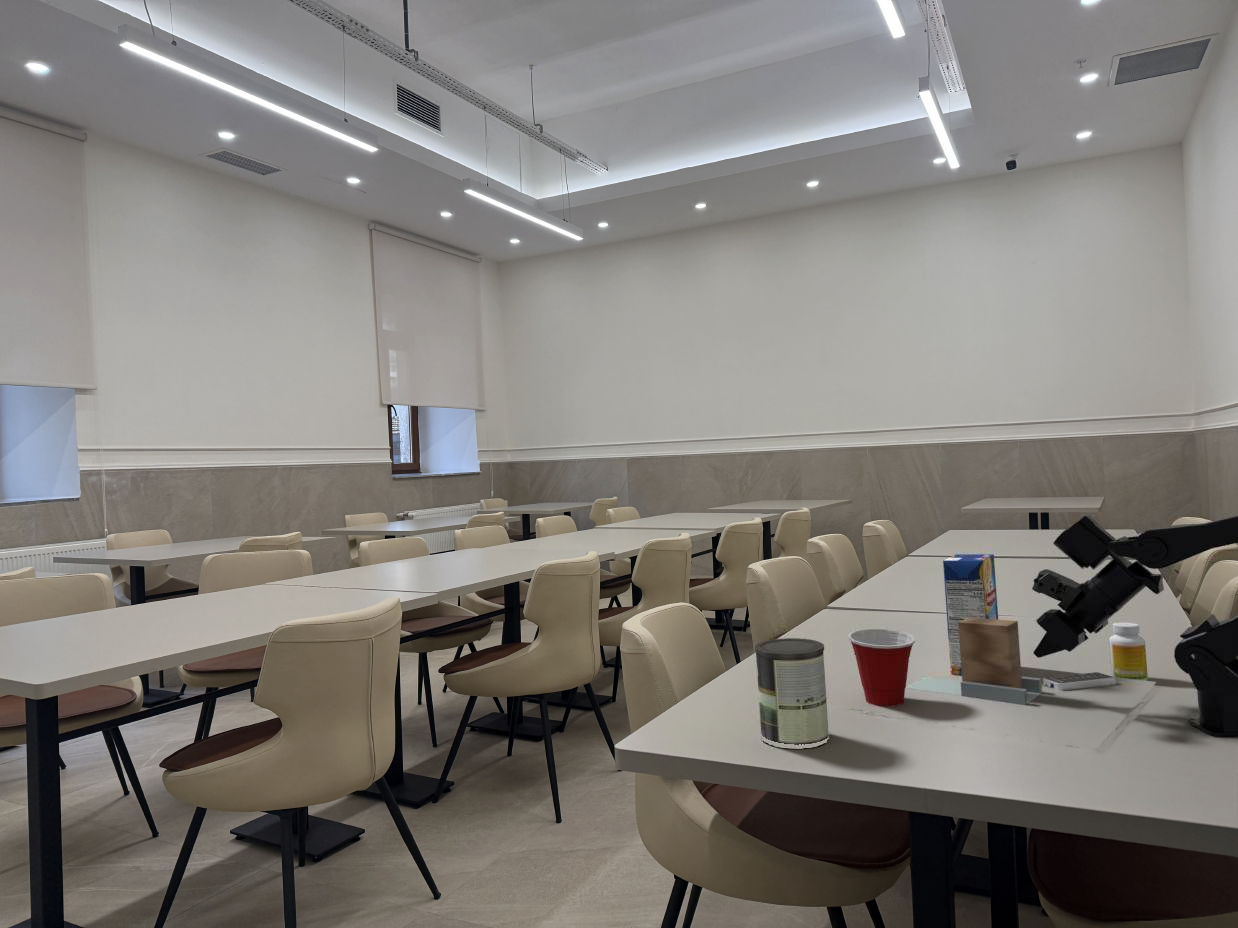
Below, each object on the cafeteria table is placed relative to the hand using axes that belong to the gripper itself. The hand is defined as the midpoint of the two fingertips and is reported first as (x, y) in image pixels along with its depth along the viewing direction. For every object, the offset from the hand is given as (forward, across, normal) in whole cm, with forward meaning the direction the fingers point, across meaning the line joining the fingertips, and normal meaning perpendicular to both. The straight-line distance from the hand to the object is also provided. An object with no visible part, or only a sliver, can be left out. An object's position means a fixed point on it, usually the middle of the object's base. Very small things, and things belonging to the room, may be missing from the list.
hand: (1036, 655), depth 130 cm
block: (+10, 0, 0) cm, 10 cm away
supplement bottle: (0, -23, +12) cm, 26 cm away
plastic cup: (+20, +14, -8) cm, 26 cm away
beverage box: (+16, -14, -5) cm, 22 cm away
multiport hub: (+4, -12, +8) cm, 15 cm away
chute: (+13, 0, -2) cm, 13 cm away
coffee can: (+22, +36, -11) cm, 44 cm away
